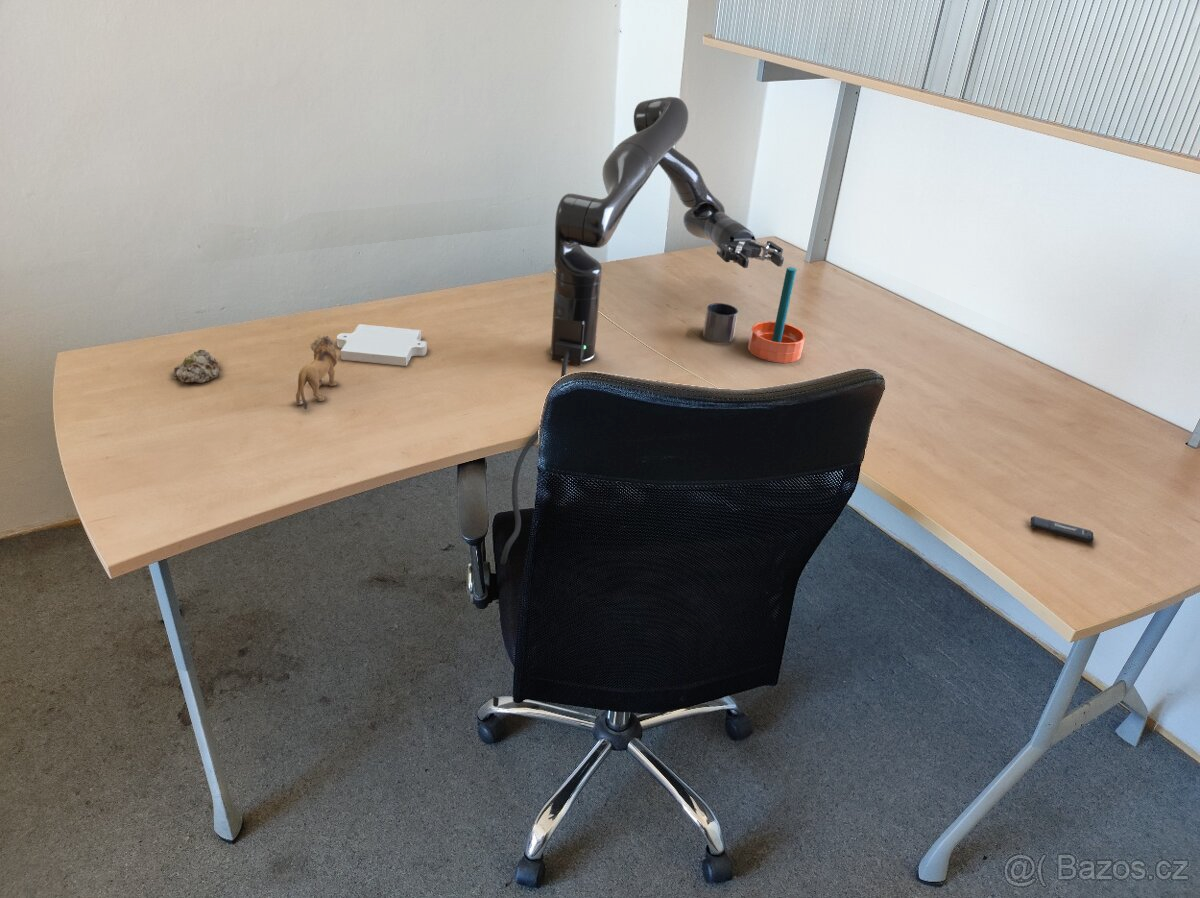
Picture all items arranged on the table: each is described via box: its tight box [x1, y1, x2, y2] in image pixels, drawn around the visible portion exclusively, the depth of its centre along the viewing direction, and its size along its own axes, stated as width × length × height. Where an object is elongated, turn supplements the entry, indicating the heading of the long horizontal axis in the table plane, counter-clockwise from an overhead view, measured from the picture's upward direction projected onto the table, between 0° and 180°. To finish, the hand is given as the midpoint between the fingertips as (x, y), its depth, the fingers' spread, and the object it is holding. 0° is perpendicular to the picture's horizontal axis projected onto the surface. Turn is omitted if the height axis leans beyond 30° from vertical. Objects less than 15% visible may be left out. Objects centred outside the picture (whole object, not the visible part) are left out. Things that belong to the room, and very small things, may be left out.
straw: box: [772, 266, 797, 343], centre depth 190 cm, size 2×2×19 cm
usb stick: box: [1030, 515, 1095, 543], centre depth 145 cm, size 10×3×2 cm, turn 69°
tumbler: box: [702, 302, 739, 344], centre depth 198 cm, size 7×7×7 cm
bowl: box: [747, 320, 806, 364], centre depth 194 cm, size 12×12×5 cm
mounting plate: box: [336, 323, 428, 367], centre depth 180 cm, size 18×13×2 cm
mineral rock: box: [173, 349, 220, 384], centre depth 165 cm, size 11×4×8 cm
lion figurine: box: [295, 334, 338, 410], centre depth 161 cm, size 15×5×9 cm, turn 179°
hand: (764, 263), depth 196 cm, fingers open, 8 cm apart
